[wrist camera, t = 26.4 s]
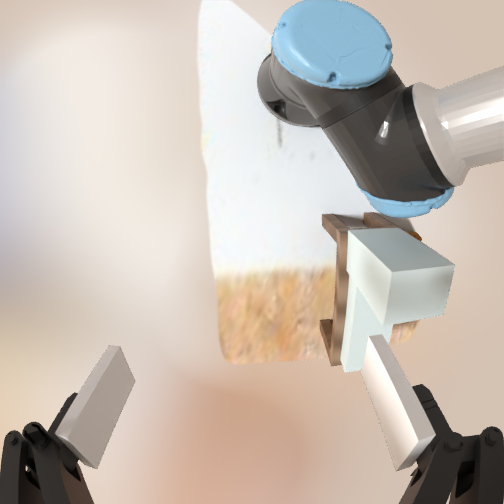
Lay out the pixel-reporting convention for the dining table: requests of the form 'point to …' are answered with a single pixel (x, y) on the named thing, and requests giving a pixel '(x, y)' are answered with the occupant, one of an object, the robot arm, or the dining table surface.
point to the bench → (342, 280)
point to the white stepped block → (389, 287)
